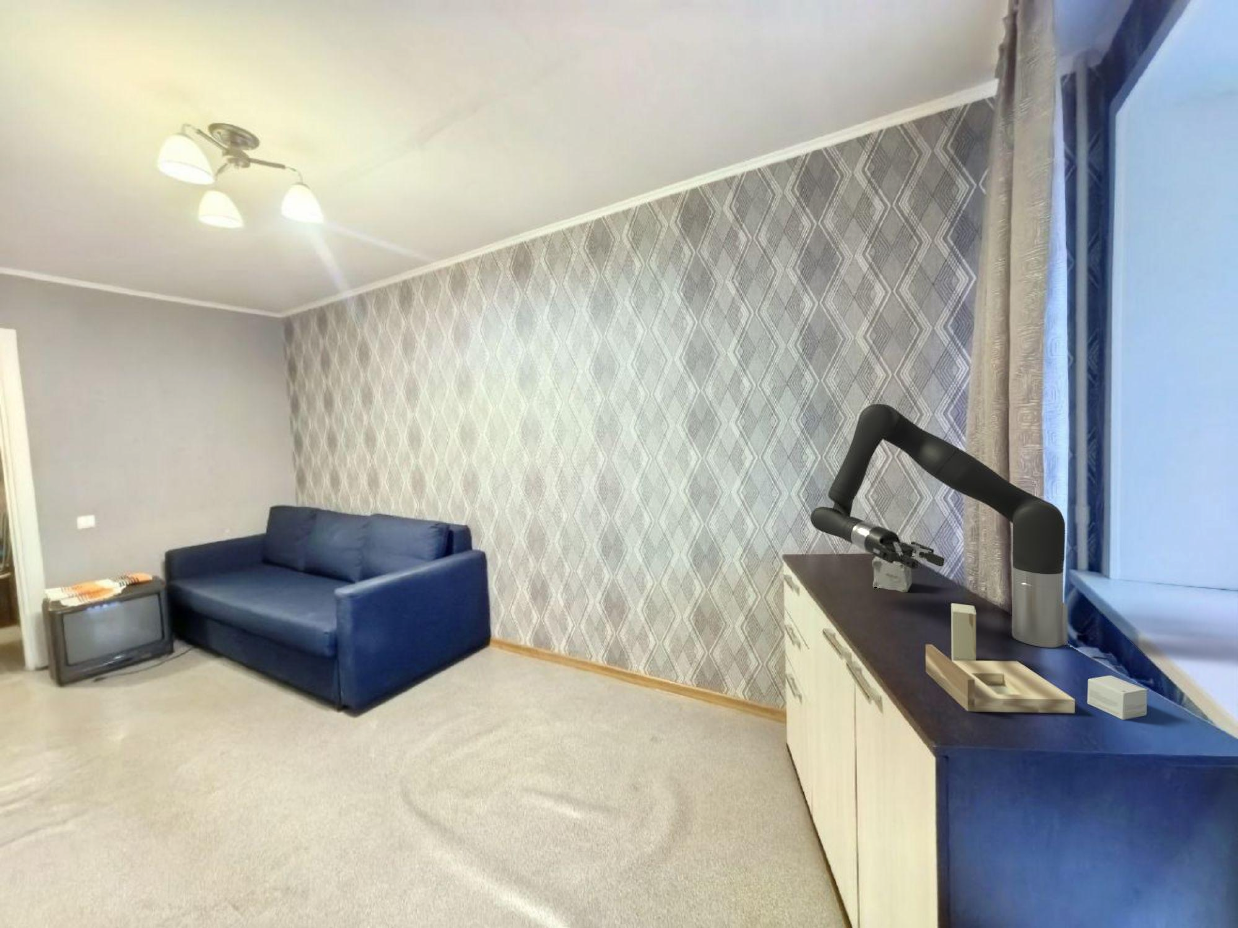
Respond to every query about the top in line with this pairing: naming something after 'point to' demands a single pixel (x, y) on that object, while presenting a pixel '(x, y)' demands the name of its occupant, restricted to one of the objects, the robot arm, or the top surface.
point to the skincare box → (963, 632)
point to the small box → (1117, 697)
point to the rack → (996, 685)
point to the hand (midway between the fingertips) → (930, 563)
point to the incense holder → (891, 575)
